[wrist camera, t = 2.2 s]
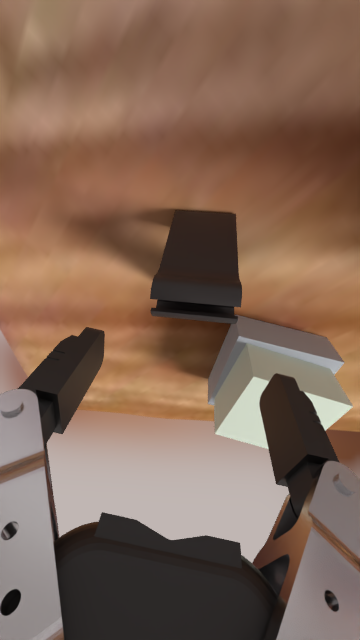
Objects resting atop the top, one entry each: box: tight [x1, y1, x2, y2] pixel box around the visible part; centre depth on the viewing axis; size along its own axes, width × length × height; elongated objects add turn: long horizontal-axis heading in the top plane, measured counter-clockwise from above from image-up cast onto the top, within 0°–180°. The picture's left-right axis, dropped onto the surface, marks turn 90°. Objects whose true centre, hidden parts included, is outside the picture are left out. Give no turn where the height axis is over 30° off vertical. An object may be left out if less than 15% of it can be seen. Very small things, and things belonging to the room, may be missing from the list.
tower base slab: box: [208, 315, 344, 405], centre depth 30 cm, size 12×12×5 cm
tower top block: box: [214, 343, 353, 449], centre depth 26 cm, size 10×10×5 cm
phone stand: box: [150, 210, 242, 324], centre depth 20 cm, size 9×6×12 cm, turn 177°
